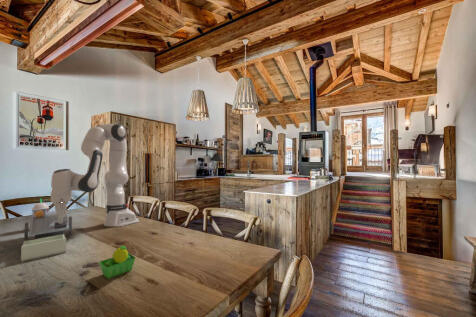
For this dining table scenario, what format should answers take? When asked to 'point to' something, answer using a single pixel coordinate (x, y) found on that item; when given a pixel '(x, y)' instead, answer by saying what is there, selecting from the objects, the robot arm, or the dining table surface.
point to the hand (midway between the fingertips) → (60, 223)
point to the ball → (39, 214)
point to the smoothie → (41, 206)
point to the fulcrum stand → (48, 233)
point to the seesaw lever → (46, 223)
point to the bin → (43, 247)
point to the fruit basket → (117, 263)
